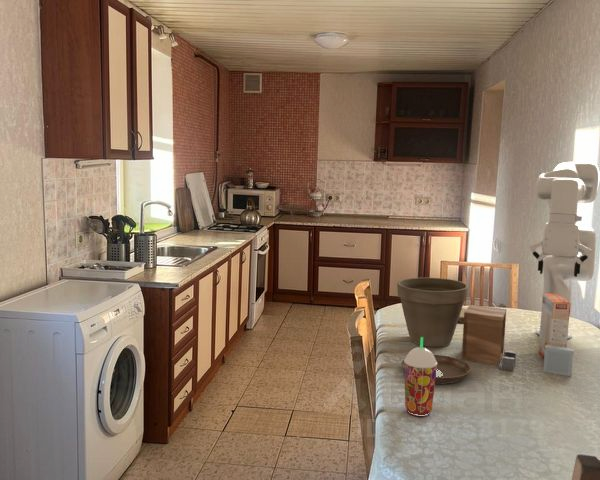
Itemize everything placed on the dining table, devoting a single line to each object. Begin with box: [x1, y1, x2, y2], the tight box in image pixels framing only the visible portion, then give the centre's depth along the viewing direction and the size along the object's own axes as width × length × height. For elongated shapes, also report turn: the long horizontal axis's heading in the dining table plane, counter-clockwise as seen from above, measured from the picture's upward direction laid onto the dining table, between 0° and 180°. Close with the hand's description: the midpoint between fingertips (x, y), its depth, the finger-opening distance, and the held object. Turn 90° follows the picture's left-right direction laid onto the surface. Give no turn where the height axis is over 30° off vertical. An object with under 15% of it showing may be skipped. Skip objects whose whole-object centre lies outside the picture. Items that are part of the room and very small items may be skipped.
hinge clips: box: [498, 350, 517, 372], centre depth 181 cm, size 8×4×4 cm, turn 155°
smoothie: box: [403, 337, 438, 415], centre depth 144 cm, size 8×8×20 cm
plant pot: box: [396, 277, 469, 348], centre depth 205 cm, size 25×25×22 cm
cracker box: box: [537, 293, 571, 359], centre depth 189 cm, size 14×6×21 cm, turn 168°
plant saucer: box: [400, 354, 471, 385], centre depth 173 cm, size 21×21×3 cm
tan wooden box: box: [461, 304, 507, 366], centre depth 189 cm, size 12×12×16 cm
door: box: [542, 345, 574, 377], centre depth 176 cm, size 3×8×8 cm, turn 65°
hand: (558, 274), depth 174 cm, fingers open, 9 cm apart
